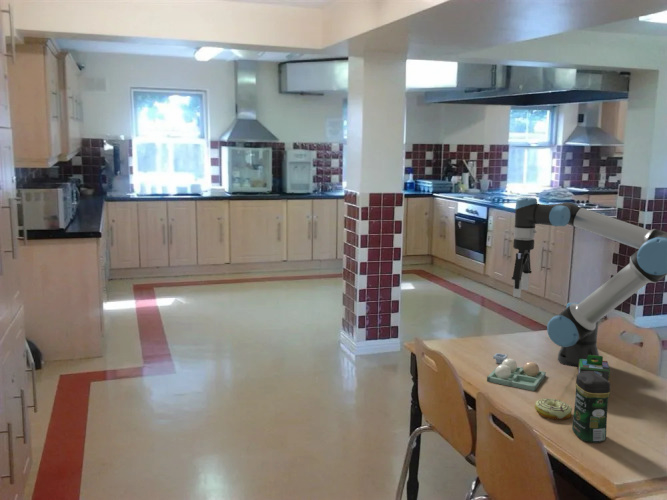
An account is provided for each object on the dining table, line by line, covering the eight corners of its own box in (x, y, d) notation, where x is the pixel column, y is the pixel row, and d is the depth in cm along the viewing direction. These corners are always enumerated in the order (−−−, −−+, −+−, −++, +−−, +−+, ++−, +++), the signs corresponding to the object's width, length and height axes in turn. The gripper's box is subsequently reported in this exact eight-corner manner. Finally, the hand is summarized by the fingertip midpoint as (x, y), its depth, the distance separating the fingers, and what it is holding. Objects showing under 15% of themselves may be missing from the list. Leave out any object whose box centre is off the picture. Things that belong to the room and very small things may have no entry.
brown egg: (524, 375, 223) (526, 360, 224) (539, 378, 221) (541, 363, 221) (520, 375, 219) (522, 360, 219) (536, 378, 216) (538, 363, 216)
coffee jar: (567, 428, 182) (572, 368, 179) (593, 428, 183) (598, 368, 180) (582, 444, 173) (588, 381, 170) (610, 443, 173) (615, 380, 170)
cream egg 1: (518, 372, 225) (519, 358, 224) (514, 376, 220) (515, 362, 219) (503, 369, 227) (504, 355, 226) (499, 373, 223) (500, 359, 222)
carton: (545, 378, 221) (545, 372, 221) (534, 393, 208) (534, 386, 207) (500, 369, 230) (500, 363, 229) (486, 383, 216) (487, 377, 216)
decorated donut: (566, 425, 185) (567, 413, 184) (530, 416, 191) (531, 404, 190) (574, 413, 194) (575, 401, 193) (540, 404, 200) (541, 393, 199)
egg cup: (507, 363, 236) (507, 354, 236) (503, 366, 233) (504, 358, 232) (496, 361, 238) (496, 352, 238) (492, 364, 235) (493, 355, 234)
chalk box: (605, 393, 209) (609, 351, 206) (607, 404, 200) (611, 360, 198) (576, 389, 212) (579, 348, 209) (577, 400, 203) (580, 356, 201)
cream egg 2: (512, 378, 218) (513, 364, 217) (508, 383, 214) (509, 368, 213) (497, 375, 221) (498, 361, 220) (492, 380, 216) (493, 365, 215)
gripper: (527, 243, 221) (523, 301, 225) (540, 235, 243) (537, 288, 246) (506, 242, 225) (502, 298, 228) (521, 233, 246) (518, 285, 250)
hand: (520, 293), depth 237 cm, fingers open, 13 cm apart
